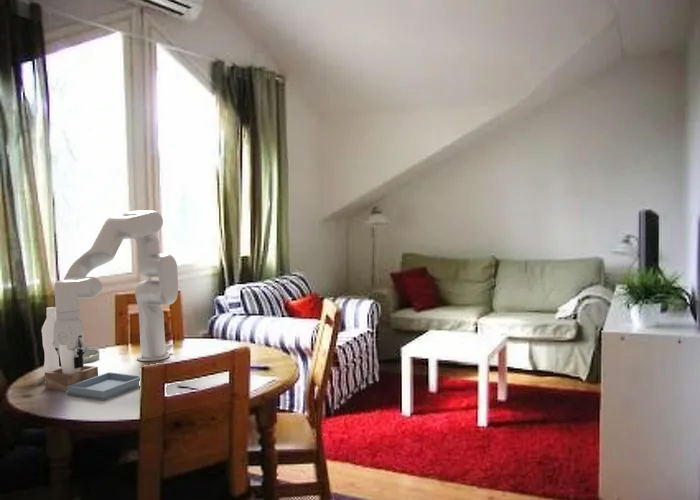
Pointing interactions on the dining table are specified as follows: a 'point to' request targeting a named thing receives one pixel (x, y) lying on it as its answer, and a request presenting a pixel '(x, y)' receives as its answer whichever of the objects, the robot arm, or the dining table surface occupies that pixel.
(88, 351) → the wristwatch
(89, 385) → the tray
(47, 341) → the water bottle
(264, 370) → the dining table surface
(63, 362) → the drinking glass
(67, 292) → the robot arm
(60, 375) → the frame
